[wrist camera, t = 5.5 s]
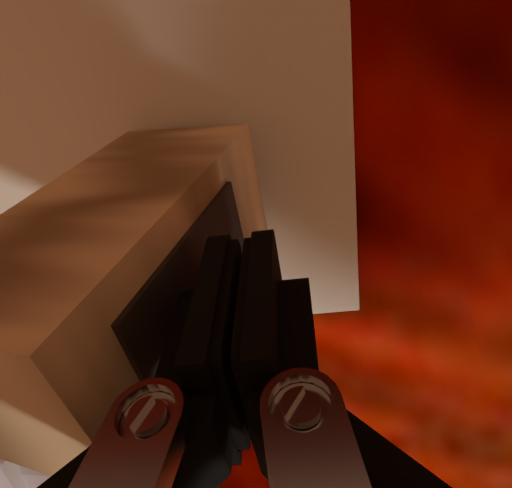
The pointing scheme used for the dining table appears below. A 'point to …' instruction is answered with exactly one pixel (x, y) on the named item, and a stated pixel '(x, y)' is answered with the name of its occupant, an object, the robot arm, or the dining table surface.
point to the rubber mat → (196, 105)
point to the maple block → (108, 277)
